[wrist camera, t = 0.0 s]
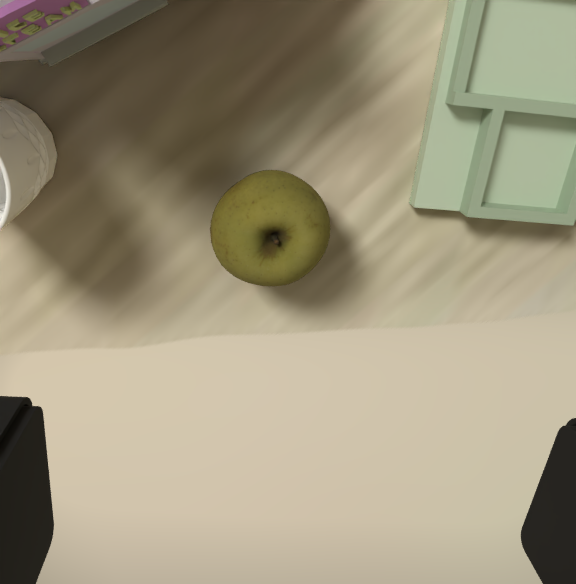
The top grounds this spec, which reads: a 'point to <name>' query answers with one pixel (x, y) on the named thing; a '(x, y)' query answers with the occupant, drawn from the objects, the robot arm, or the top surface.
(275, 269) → the apple
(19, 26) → the toy vehicle
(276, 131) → the top surface
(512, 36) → the jig
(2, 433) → the robot arm
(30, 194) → the white cup
